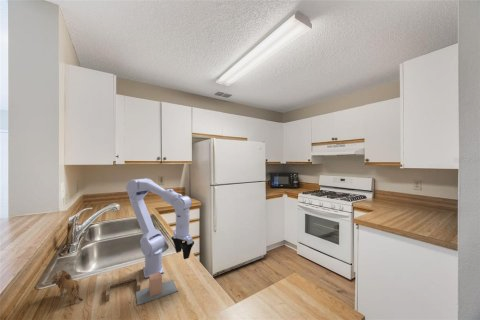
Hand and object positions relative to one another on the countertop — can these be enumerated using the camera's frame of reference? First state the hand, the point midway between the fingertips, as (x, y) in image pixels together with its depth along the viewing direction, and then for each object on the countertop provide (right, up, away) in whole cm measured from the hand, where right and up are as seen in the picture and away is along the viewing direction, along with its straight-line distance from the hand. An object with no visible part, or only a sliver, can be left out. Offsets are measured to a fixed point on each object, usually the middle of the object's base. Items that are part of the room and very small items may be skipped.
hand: (182, 255), depth 84 cm
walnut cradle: (-21, -10, -8) cm, 25 cm away
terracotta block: (-8, -9, -10) cm, 15 cm away
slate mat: (-7, -10, -9) cm, 15 cm away
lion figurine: (-39, -10, -13) cm, 43 cm away
